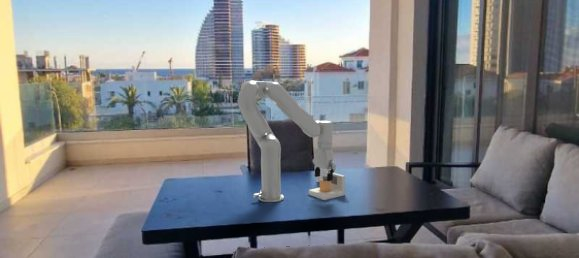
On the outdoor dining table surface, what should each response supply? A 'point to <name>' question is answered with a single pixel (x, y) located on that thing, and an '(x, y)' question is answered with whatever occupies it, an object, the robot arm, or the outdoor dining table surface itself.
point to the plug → (325, 185)
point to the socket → (336, 188)
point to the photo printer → (322, 174)
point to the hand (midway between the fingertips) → (323, 178)
